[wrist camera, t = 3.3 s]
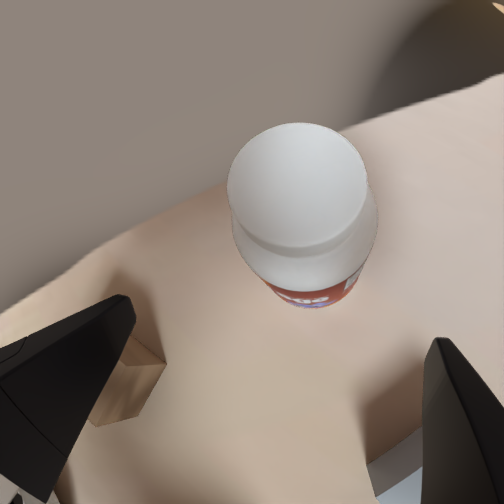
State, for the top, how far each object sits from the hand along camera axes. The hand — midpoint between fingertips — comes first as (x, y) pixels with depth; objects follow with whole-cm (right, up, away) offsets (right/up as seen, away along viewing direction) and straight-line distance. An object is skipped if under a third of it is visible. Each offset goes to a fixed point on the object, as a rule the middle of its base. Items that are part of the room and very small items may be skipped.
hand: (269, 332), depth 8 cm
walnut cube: (-10, -7, +13) cm, 17 cm away
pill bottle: (+4, +1, +12) cm, 13 cm away
